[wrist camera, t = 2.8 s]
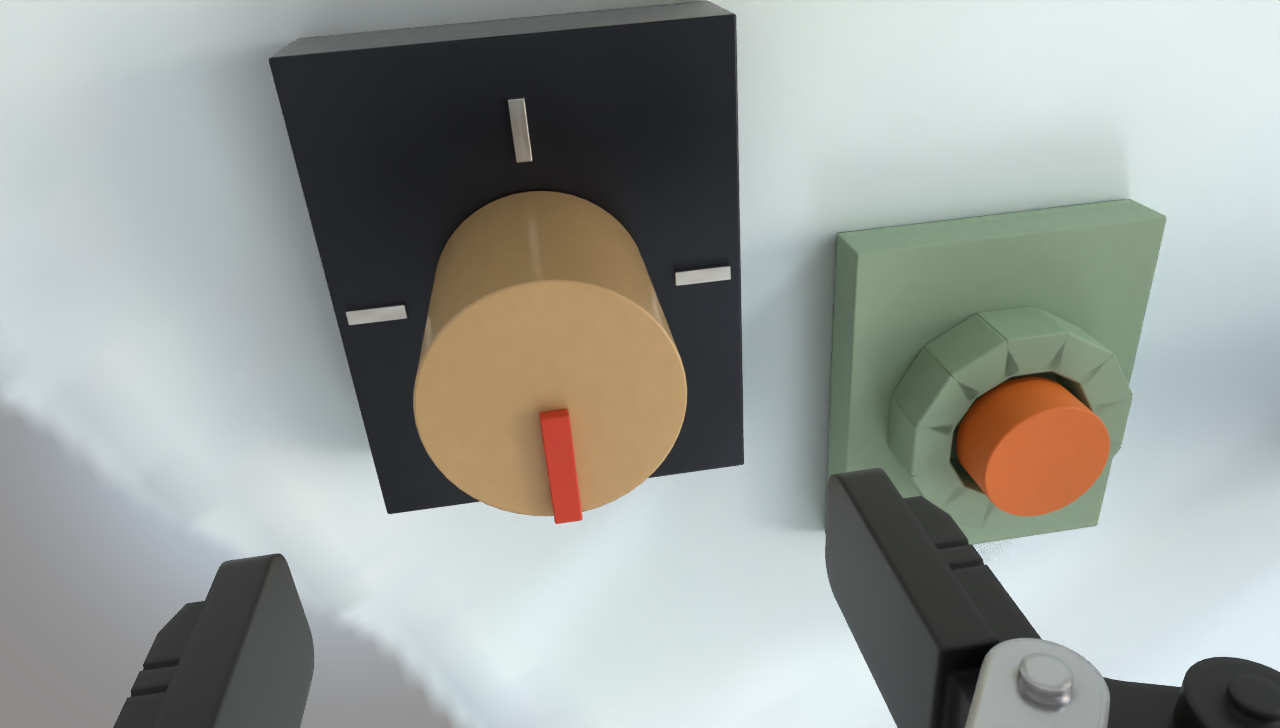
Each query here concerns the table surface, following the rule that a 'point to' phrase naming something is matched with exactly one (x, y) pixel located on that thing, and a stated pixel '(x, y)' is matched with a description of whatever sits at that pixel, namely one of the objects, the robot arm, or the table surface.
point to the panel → (522, 189)
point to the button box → (983, 341)
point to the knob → (546, 360)
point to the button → (1032, 446)
